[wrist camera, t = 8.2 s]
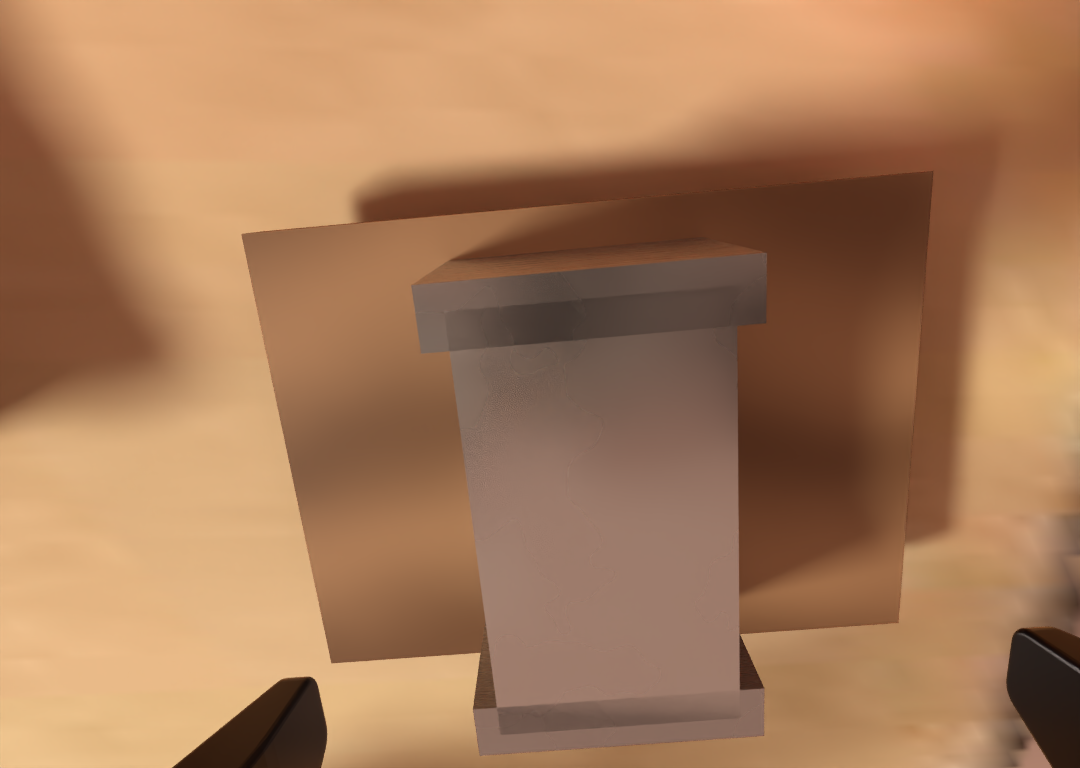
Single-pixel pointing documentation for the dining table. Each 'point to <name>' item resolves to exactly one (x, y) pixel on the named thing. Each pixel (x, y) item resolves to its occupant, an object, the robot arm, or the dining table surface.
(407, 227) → the stand
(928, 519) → the dining table surface
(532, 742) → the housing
